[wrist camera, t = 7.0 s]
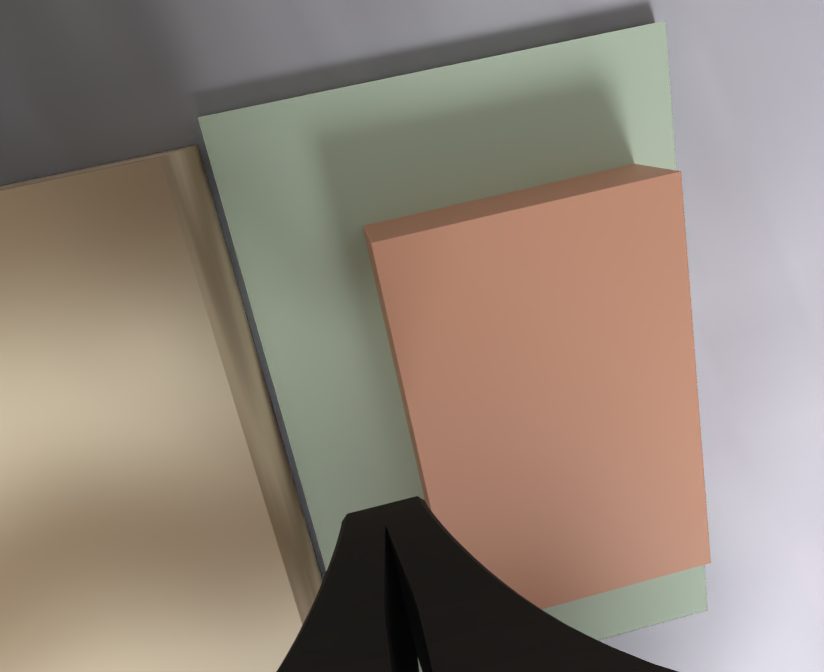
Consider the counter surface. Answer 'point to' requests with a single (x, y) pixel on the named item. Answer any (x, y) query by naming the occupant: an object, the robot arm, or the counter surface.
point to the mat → (406, 195)
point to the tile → (553, 378)
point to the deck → (138, 436)
